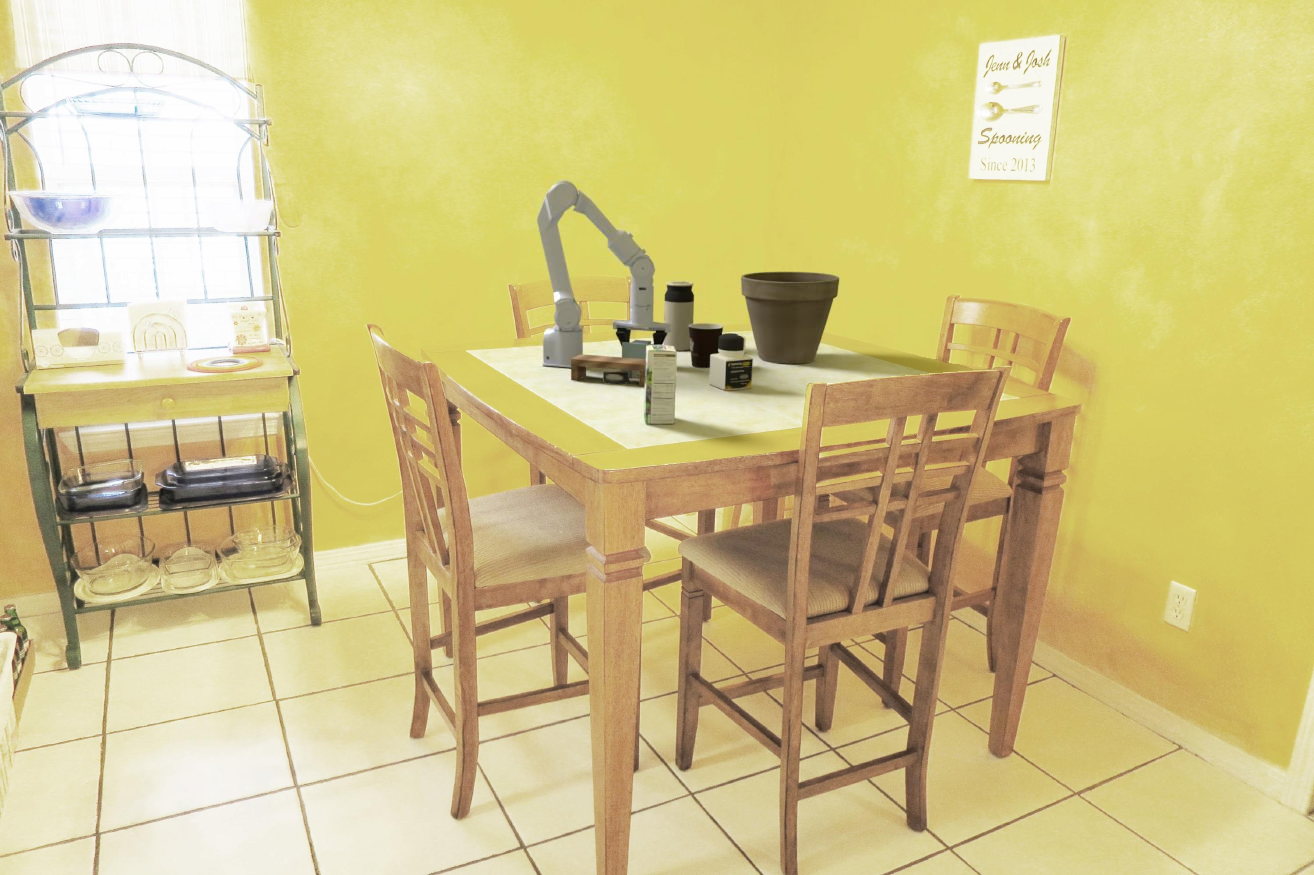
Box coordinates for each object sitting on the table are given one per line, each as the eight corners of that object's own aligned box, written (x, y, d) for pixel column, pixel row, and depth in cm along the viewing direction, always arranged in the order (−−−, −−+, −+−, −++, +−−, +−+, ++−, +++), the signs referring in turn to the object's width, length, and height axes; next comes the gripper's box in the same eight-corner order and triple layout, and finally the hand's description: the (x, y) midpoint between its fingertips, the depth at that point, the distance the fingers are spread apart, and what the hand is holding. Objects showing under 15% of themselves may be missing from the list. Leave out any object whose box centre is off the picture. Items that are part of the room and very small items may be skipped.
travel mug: (697, 348, 252) (699, 282, 247) (682, 352, 245) (684, 285, 240) (673, 344, 256) (674, 280, 251) (658, 349, 250) (659, 282, 244)
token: (599, 383, 209) (599, 373, 208) (608, 378, 215) (608, 368, 214) (624, 385, 207) (624, 375, 207) (632, 380, 213) (632, 370, 212)
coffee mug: (719, 370, 225) (720, 329, 222) (684, 368, 226) (685, 328, 223) (725, 361, 236) (726, 322, 233) (692, 359, 237) (693, 320, 234)
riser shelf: (571, 380, 211) (570, 359, 209) (580, 375, 216) (580, 354, 215) (645, 386, 206) (645, 364, 205) (653, 381, 212) (653, 359, 210)
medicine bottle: (725, 391, 203) (727, 338, 200) (708, 384, 209) (710, 332, 206) (751, 388, 206) (754, 335, 203) (735, 382, 212) (737, 330, 209)
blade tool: (605, 376, 216) (605, 351, 214) (628, 362, 231) (628, 339, 230) (637, 379, 214) (638, 353, 212) (658, 365, 229) (658, 341, 228)
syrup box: (643, 416, 181) (644, 344, 177) (672, 416, 181) (674, 344, 177) (645, 424, 175) (646, 350, 171) (675, 424, 176) (677, 350, 172)
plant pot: (725, 362, 234) (728, 277, 227) (752, 346, 256) (756, 268, 249) (822, 372, 225) (828, 283, 219) (841, 354, 247) (847, 273, 241)
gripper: (674, 304, 226) (673, 358, 230) (619, 301, 230) (619, 354, 234) (666, 308, 219) (666, 363, 223) (609, 305, 223) (610, 359, 227)
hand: (641, 359), depth 228 cm, fingers open, 7 cm apart
